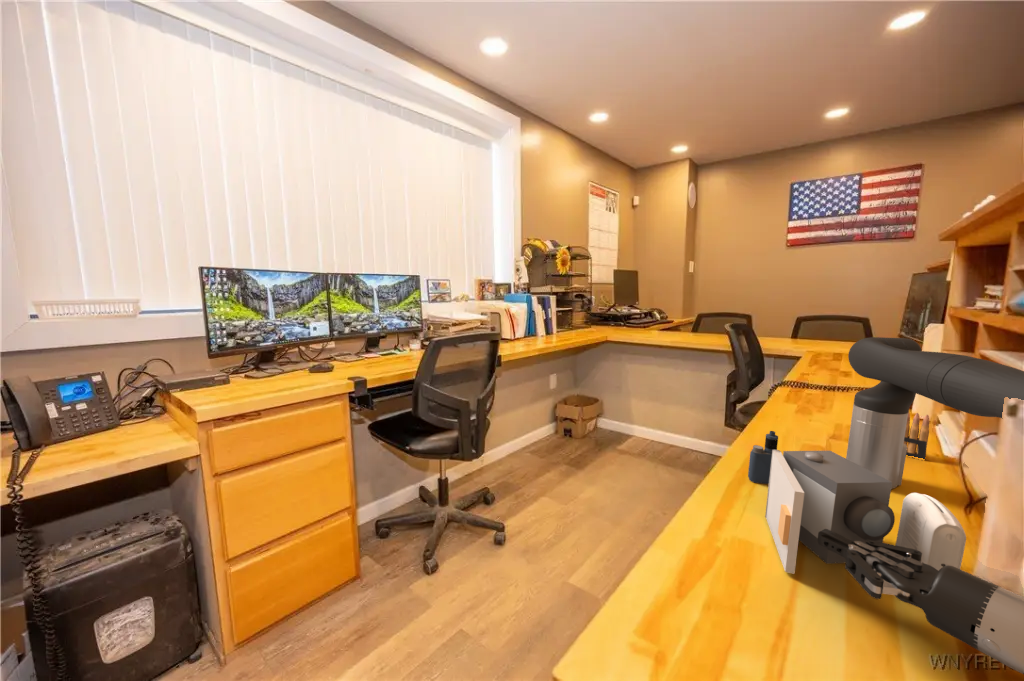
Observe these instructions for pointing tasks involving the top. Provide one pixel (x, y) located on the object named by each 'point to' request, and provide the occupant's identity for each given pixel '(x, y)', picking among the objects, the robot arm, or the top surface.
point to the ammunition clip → (913, 436)
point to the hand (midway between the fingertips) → (820, 535)
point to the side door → (784, 510)
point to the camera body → (839, 500)
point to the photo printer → (931, 531)
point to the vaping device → (762, 460)
